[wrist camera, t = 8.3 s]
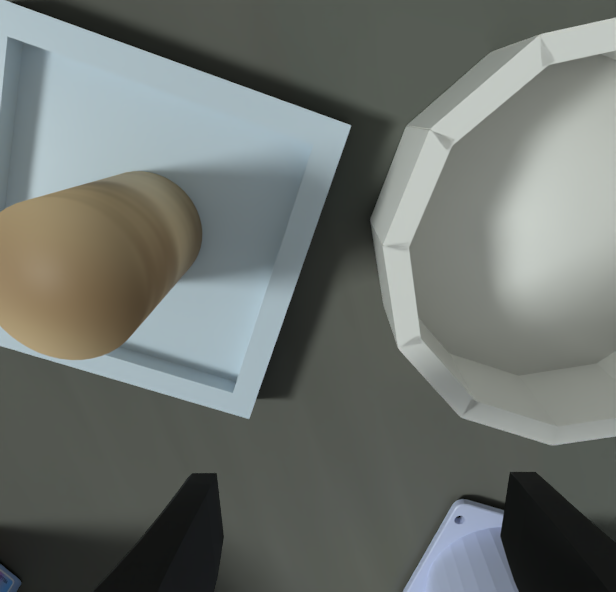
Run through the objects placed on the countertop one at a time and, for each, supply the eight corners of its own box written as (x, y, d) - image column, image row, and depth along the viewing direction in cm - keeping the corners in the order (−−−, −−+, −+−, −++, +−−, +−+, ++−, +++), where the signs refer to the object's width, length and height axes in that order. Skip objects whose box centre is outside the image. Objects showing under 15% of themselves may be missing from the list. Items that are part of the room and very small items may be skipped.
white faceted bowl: (611, 419, 22) (671, 482, 18) (327, 329, 21) (329, 376, 17) (815, 114, 17) (953, 115, 13) (464, -26, 16) (509, -69, 12)
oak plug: (187, 297, 20) (127, 379, 13) (79, 264, 19) (-33, 333, 13) (214, 193, 18) (161, 231, 12) (98, 154, 18) (-19, 173, 12)
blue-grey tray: (253, 399, 22) (249, 418, 20) (-23, 316, 21) (-48, 331, 19) (348, 124, 18) (351, 125, 16) (7, 1, 16) (-22, -10, 15)
